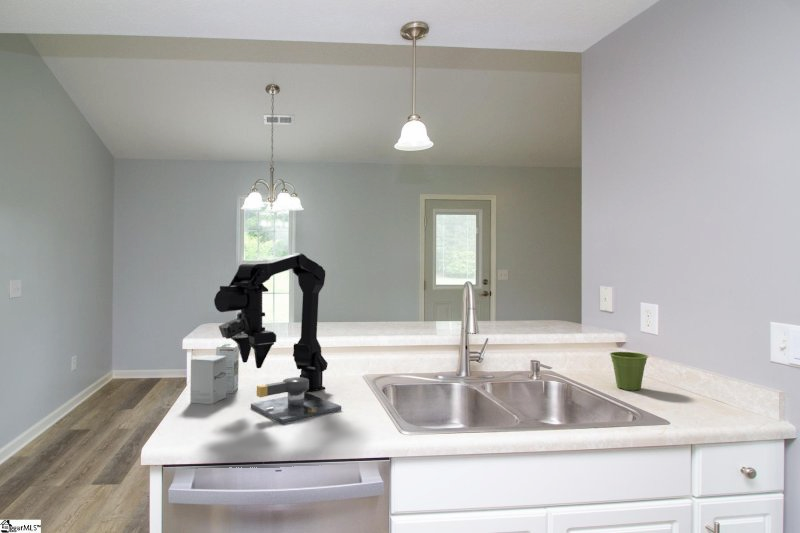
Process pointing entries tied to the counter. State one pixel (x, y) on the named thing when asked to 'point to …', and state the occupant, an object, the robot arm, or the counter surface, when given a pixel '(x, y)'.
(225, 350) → the syrup box
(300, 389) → the handle
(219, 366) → the supplement box
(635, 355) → the plant pot
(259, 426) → the counter surface
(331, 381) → the counter surface
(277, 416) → the base
